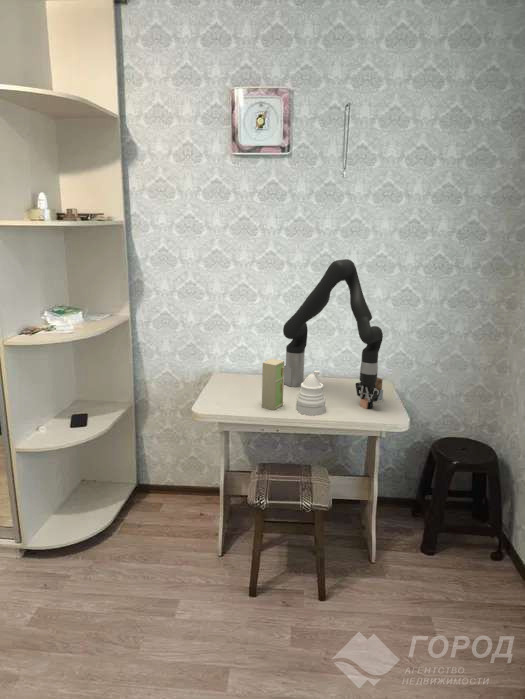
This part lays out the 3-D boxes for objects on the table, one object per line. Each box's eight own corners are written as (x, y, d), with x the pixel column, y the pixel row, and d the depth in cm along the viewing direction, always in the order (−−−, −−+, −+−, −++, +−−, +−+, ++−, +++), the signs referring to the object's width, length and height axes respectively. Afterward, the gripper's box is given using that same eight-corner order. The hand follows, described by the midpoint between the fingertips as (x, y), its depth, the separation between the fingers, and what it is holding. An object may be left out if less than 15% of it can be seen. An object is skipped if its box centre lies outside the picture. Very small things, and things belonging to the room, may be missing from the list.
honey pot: (323, 405, 241) (325, 367, 236) (326, 415, 229) (328, 376, 224) (295, 404, 241) (296, 366, 236) (297, 415, 228) (298, 375, 224)
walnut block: (373, 391, 243) (374, 380, 242) (366, 388, 247) (367, 377, 246) (381, 389, 246) (382, 379, 245) (374, 386, 250) (374, 376, 249)
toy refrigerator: (275, 410, 233) (276, 365, 228) (261, 407, 237) (262, 362, 231) (284, 405, 240) (285, 360, 234) (270, 402, 243) (271, 358, 238)
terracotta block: (365, 410, 235) (366, 402, 234) (359, 407, 238) (360, 399, 237) (372, 408, 237) (373, 400, 236) (366, 406, 241) (367, 397, 240)
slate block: (373, 402, 244) (373, 391, 242) (363, 398, 249) (364, 388, 247) (382, 399, 247) (383, 389, 246) (373, 396, 252) (374, 386, 251)
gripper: (351, 368, 237) (349, 404, 242) (374, 376, 226) (371, 414, 230) (363, 366, 241) (361, 401, 246) (386, 374, 230) (383, 411, 234)
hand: (366, 407), depth 238 cm, fingers closed on terracotta block, 4 cm apart
